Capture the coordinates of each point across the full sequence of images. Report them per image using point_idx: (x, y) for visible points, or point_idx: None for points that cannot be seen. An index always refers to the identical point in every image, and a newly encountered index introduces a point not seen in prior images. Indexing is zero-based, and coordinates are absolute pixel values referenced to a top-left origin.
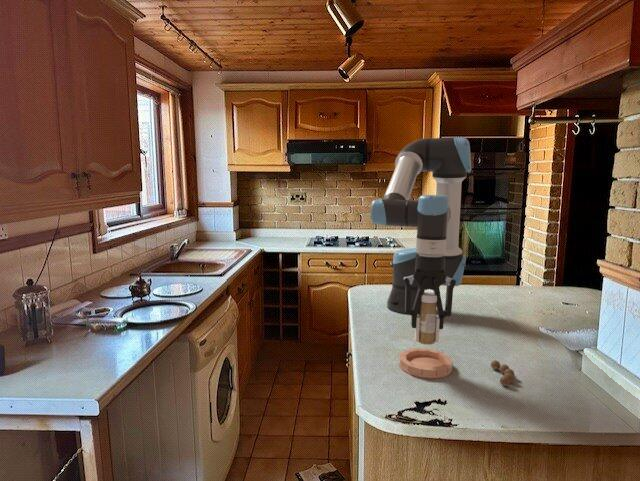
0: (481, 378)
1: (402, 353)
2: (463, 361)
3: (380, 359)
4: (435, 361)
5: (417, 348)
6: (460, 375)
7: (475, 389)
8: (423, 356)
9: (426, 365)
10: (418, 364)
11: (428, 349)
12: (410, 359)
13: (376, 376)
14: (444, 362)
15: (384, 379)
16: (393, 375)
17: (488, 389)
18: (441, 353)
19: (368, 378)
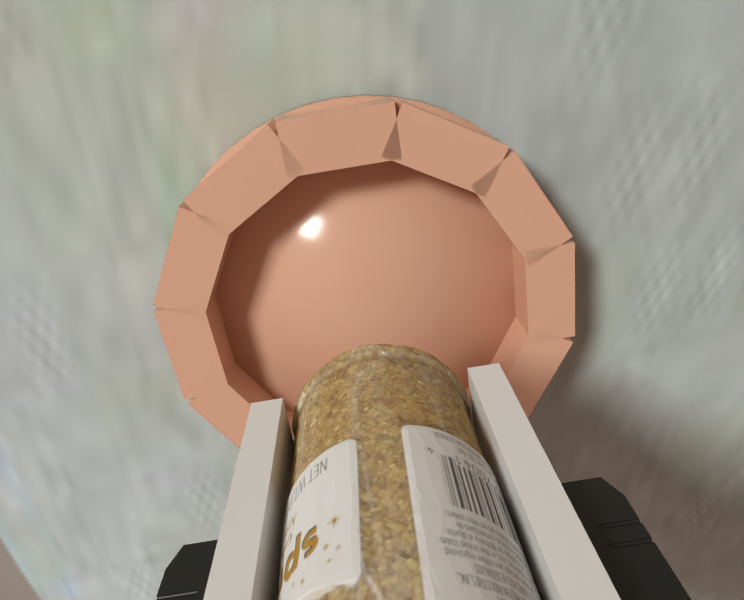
0: (717, 357)
1: (171, 280)
2: (678, 116)
3: (15, 268)
4: (448, 243)
5: (288, 123)
6: (594, 355)
7: (636, 483)
8: (351, 171)
9: (378, 329)
10: (320, 329)
11: (397, 120)
12: (250, 264)
13: (85, 499)
14: (516, 268)
15: (141, 516)
16: (179, 463)
17: (707, 466)
18: (513, 182)
19: (49, 530)
